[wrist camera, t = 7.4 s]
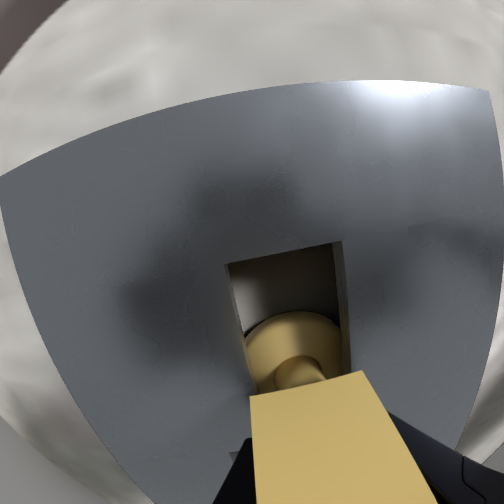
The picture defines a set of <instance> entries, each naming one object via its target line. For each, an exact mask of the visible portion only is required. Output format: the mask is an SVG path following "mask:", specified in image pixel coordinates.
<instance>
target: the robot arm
mask: <svg viewBox="0 0 504 504" xmlns="http://www.w3.org/2000/svg"><path fill="white" fill-rule="evenodd" d="M385 410H386V409H385ZM386 411H387V410H386ZM387 413H388V415H389V417H390V418H391V420H392V422H393V423H394V425H395V427H396V429H397V430H398V432H399V434H400V436H401V437H402V439H403V441H404V443H405V444H406V446H407V448H408V450H409V452H410V453H411V455H412V457H413V459H414V460H415V462H416V464H417V466H418V468H419V470H420V471H421V473H422V475H423V477H424V479H425V480H426V482H427V484H428V486H429V488H430V490H431V492H432V493H433V495H434V497H435V499H436V501H437V503H438V504H504V473H501V472H498V471H496V470H493V469H491V468H488V467H486V466H483V465H481V464H479V463H477V462H475V461H473V460H471V459H469V458H468V457H466V456H463V455H462V454H460V453H458V452H456V451H455V450H453V449H451V448H449V447H447V446H446V445H444V444H442V443H440V442H439V441H437V440H435V439H434V438H432V437H430V436H428V435H427V434H425V433H423V432H422V431H420V430H418V429H417V428H415V427H413V426H412V425H410V424H408V423H407V422H405V421H403V420H402V419H400V418H399V417H397V416H395V415H394V414H392V413H390V412H389V411H387ZM212 504H257V499H256V485H255V471H254V456H253V442H252V437H250V438H246V439H245V440H244V442H243V444H242V446H241V448H240V450H239V452H238V454H237V456H236V458H235V461H234V463H233V465H232V467H231V468H230V470H229V472H228V474H227V476H226V478H225V480H224V482H223V484H222V486H221V488H220V490H219V492H218V494H217V495H216V497H215V499H214V501H213V503H212Z"/></svg>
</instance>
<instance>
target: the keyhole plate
mask: <svg viewBox="0 0 504 504" xmlns="http://www.w3.org/2000/svg"><path fill="white" fill-rule="evenodd" d="M0 206H1V211H2V216H3V221H4V226H5V230H6V234H7V238H8V242H9V246H10V250H11V254H12V257H13V261H14V264H15V267H16V271H17V274H18V277H19V280H20V283H21V286H22V289H23V292H24V295H25V297H26V300H27V303H28V305H29V308H30V311H31V313H32V316H33V318H34V321H35V323H36V325H37V328H38V330H39V332H40V335H41V337H42V339H43V341H44V343H45V346H46V348H47V350H48V352H49V354H50V356H51V358H52V360H53V362H54V364H55V366H56V368H57V370H58V372H59V373H60V375H61V377H62V379H63V381H64V383H65V384H66V386H67V388H68V390H69V391H70V393H71V395H72V397H73V398H74V400H75V402H76V403H77V405H78V406H79V408H80V410H81V411H82V413H83V414H84V416H85V417H86V419H87V420H88V422H89V423H90V425H91V426H92V428H93V429H94V431H95V432H96V434H97V435H98V436H99V438H100V439H101V441H102V442H103V443H104V445H105V446H106V447H107V449H108V450H109V451H110V453H111V454H112V455H113V457H114V458H115V459H116V460H117V462H118V463H119V464H120V465H121V467H122V468H123V469H124V470H125V471H126V473H127V474H128V475H129V476H130V477H131V479H132V480H133V481H134V482H135V483H136V484H137V485H138V486H139V488H140V489H141V490H142V491H143V492H144V493H145V494H146V495H147V496H148V497H149V498H150V499H151V500H152V501H153V502H154V504H212V503H213V501H214V499H215V497H216V495H217V494H218V492H219V490H220V488H221V486H222V484H223V482H224V480H225V478H226V476H227V474H228V472H229V470H230V468H231V467H232V465H233V463H234V461H235V458H236V456H237V452H236V451H239V450H240V448H241V446H242V444H243V442H244V440H245V439H246V438H250V437H252V426H251V411H250V396H255V395H259V394H258V390H257V387H256V383H255V379H254V375H253V371H252V367H251V363H250V359H249V355H248V351H247V347H246V343H245V338H244V334H243V330H242V326H241V322H240V318H239V313H238V309H237V305H236V301H235V296H234V292H233V288H232V283H231V279H230V275H229V270H228V266H227V263H232V262H237V261H242V260H247V259H252V258H257V257H262V256H267V255H272V254H277V253H282V252H287V251H292V250H297V249H302V248H307V247H312V246H317V245H322V244H327V243H332V249H333V258H334V266H335V276H336V285H337V296H338V307H339V319H340V333H341V350H342V371H343V375H347V374H350V373H354V372H357V371H360V370H362V371H363V373H364V374H365V376H366V378H367V379H368V381H369V383H370V384H371V386H372V388H373V389H374V391H375V393H376V394H377V396H378V398H379V399H380V401H381V403H382V405H383V406H384V408H385V409H386V410H387V411H389V412H390V413H392V414H394V415H395V416H397V417H399V418H400V419H402V420H403V421H405V422H407V423H408V424H410V425H412V426H413V427H415V428H417V429H418V430H420V431H422V432H423V433H425V434H427V435H428V436H430V437H432V438H434V439H435V440H437V441H439V442H440V443H442V444H444V445H446V446H447V447H449V448H451V449H453V450H455V448H456V446H457V444H458V442H459V439H460V437H461V435H462V432H463V430H464V428H465V425H466V423H467V420H468V418H469V415H470V413H471V410H472V407H473V404H474V402H475V399H476V396H477V393H478V390H479V387H480V383H481V380H482V377H483V373H484V370H485V366H486V363H487V359H488V355H489V351H490V347H491V342H492V338H493V333H494V328H495V323H496V318H497V312H498V306H499V299H500V292H501V283H502V274H503V262H504V183H503V171H502V162H501V153H500V146H499V139H498V133H497V128H496V122H495V117H494V112H493V108H492V103H491V99H490V95H489V91H487V90H482V89H476V88H469V87H463V86H455V85H447V84H437V83H426V82H411V81H385V80H358V81H331V82H316V83H304V84H294V85H285V86H276V87H269V88H262V89H255V90H249V91H243V92H237V93H232V94H226V95H221V96H216V97H212V98H207V99H202V100H198V101H194V102H190V103H185V104H181V105H178V106H174V107H170V108H166V109H163V110H159V111H156V112H152V113H149V114H146V115H142V116H139V117H136V118H133V119H130V120H127V121H124V122H121V123H118V124H115V125H112V126H109V127H107V128H104V129H101V130H99V131H96V132H93V133H91V134H88V135H86V136H83V137H81V138H78V139H76V140H74V141H71V142H69V143H66V144H64V145H62V146H60V147H57V148H55V149H53V150H51V151H49V152H47V153H44V154H42V155H40V156H38V157H36V158H34V159H32V160H30V161H28V162H26V163H24V164H22V165H21V166H19V167H17V168H15V169H13V170H11V171H9V172H8V173H6V174H4V175H2V176H1V177H0Z"/></svg>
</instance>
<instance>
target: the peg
mask: <svg viewBox="0 0 504 504" xmlns="http://www.w3.org/2000/svg"><path fill="white" fill-rule="evenodd" d="M245 343H246V347H247V351H248V355H249V359H250V363H251V367H252V371H253V375H254V379H255V383H256V387H257V390H258V394H259V395H255V396H250V411H251V426H252V442H253V456H254V471H255V485H256V499H257V504H438V503H437V501H436V499H435V497H434V495H433V493H432V492H431V490H430V488H429V486H428V484H427V482H426V480H425V479H424V477H423V475H422V473H421V471H420V470H419V468H418V466H417V464H416V462H415V460H414V459H413V457H412V455H411V453H410V452H409V450H408V448H407V446H406V444H405V443H404V441H403V439H402V437H401V436H400V434H399V432H398V430H397V429H396V427H395V425H394V423H393V422H392V420H391V418H390V417H389V415H388V413H387V411H386V410H385V408H384V406H383V405H382V403H381V401H380V399H379V398H378V396H377V394H376V393H375V391H374V389H373V388H372V386H371V384H370V383H369V381H368V379H367V378H366V376H365V374H364V373H363V371H362V370H360V371H357V372H354V373H350V374H347V375H343V371H342V350H341V333H340V329H339V327H338V326H337V325H336V324H335V323H334V322H333V321H331V320H330V319H329V318H327V317H325V316H323V315H320V314H317V313H313V312H308V311H292V312H286V313H282V314H279V315H276V316H273V317H271V318H269V319H267V320H265V321H264V322H262V323H261V324H259V325H258V326H257V327H255V328H254V329H253V330H252V331H251V332H250V333H249V335H248V336H247V337H246V339H245Z"/></svg>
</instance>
